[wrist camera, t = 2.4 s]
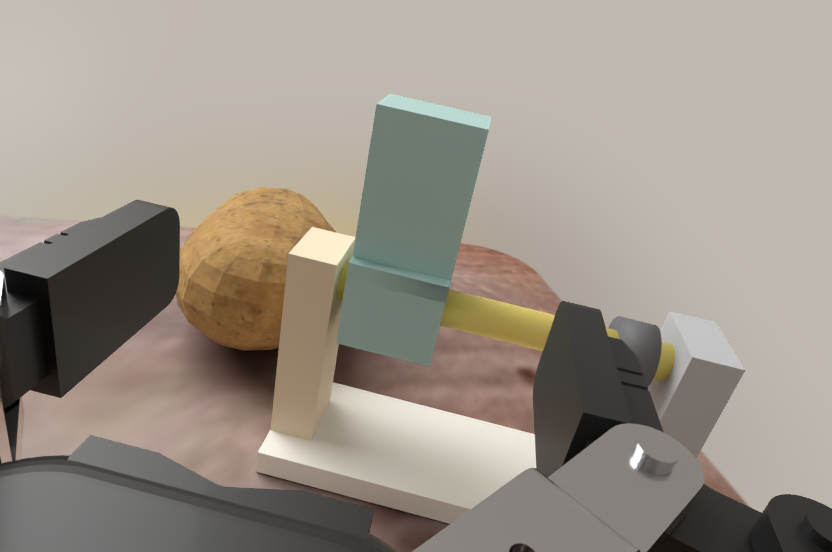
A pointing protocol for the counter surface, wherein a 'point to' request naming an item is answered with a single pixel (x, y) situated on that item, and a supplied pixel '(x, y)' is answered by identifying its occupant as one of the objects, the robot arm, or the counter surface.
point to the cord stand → (439, 430)
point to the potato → (244, 266)
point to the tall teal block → (410, 226)
